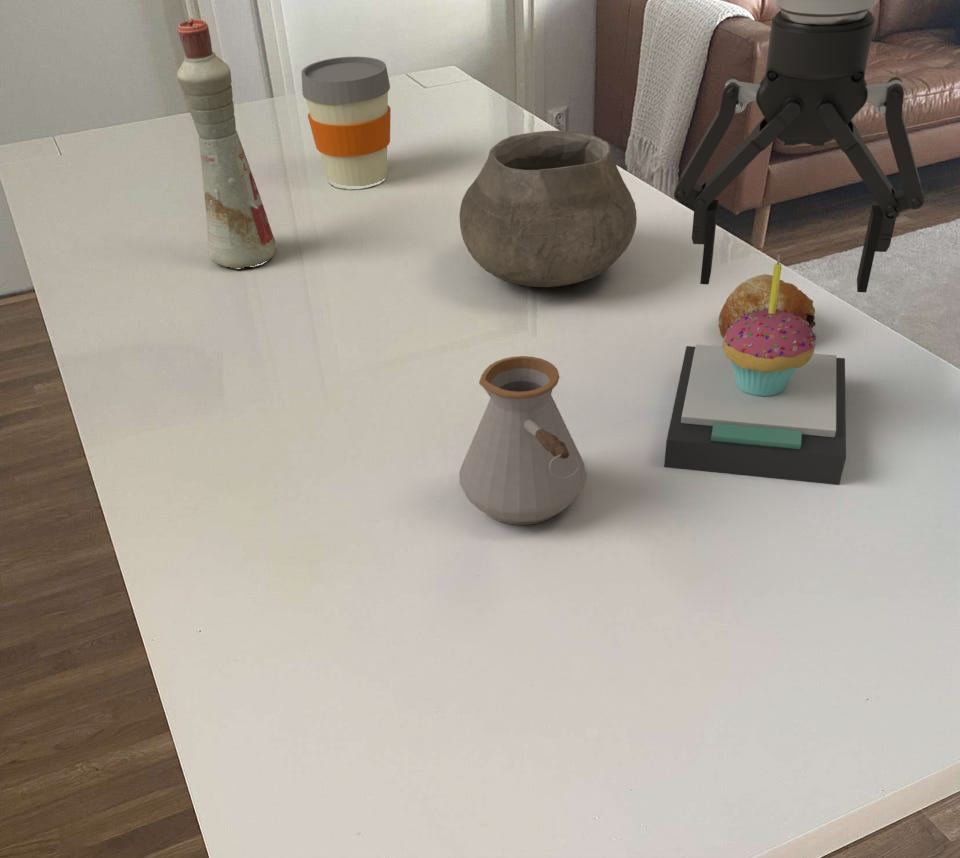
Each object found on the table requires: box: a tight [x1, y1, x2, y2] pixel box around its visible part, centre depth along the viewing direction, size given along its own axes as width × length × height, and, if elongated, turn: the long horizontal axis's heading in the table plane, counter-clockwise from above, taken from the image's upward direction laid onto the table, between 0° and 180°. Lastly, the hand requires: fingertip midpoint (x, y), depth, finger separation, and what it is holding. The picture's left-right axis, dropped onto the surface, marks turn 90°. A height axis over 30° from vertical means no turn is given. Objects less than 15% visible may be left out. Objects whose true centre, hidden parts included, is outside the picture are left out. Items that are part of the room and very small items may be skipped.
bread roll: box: [718, 273, 816, 339], centre depth 112 cm, size 10×10×8 cm
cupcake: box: [722, 254, 818, 396], centre depth 94 cm, size 9×8×12 cm
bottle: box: [176, 17, 277, 269], centre depth 124 cm, size 9×9×28 cm
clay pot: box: [459, 130, 638, 288], centre depth 121 cm, size 22×21×15 cm
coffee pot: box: [459, 355, 587, 526], centre depth 84 cm, size 21×12×15 cm, turn 11°
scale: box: [663, 344, 847, 485], centre depth 99 cm, size 16×18×4 cm
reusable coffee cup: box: [300, 56, 391, 186], centre depth 147 cm, size 13×13×15 cm
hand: (782, 282), depth 91 cm, fingers open, 13 cm apart
